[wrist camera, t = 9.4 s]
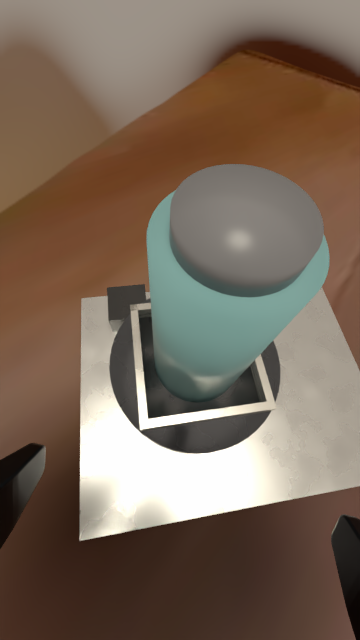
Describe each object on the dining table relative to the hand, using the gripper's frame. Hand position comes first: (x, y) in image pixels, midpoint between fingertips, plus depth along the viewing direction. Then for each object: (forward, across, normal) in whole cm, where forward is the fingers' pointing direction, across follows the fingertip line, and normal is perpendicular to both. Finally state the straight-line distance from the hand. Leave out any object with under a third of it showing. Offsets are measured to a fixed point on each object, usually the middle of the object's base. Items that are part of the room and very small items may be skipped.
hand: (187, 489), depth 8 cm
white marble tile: (+14, -3, +4) cm, 15 cm away
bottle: (+11, 0, +1) cm, 11 cm away
